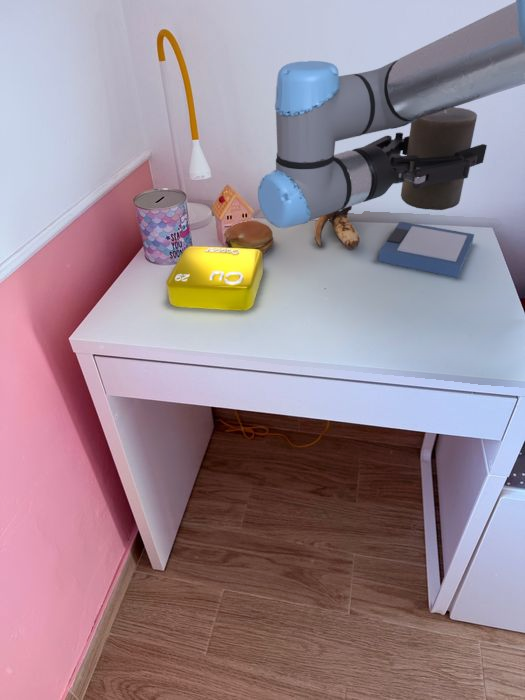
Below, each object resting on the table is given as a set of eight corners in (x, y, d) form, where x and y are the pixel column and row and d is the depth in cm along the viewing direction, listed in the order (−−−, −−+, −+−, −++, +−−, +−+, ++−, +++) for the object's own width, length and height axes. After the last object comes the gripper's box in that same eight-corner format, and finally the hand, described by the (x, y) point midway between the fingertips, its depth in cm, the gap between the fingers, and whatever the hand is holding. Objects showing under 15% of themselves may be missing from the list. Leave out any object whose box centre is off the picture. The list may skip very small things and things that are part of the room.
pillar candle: (439, 215, 83) (458, 116, 74) (388, 199, 89) (400, 105, 79) (470, 198, 88) (492, 102, 79) (420, 184, 94) (435, 93, 84)
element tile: (264, 268, 100) (264, 245, 97) (251, 312, 88) (250, 288, 85) (188, 264, 102) (186, 242, 99) (166, 307, 90) (162, 283, 87)
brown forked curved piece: (306, 221, 117) (321, 257, 102) (306, 201, 114) (321, 235, 99) (347, 217, 117) (368, 252, 103) (348, 196, 114) (369, 230, 100)
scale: (471, 245, 105) (474, 232, 103) (458, 277, 95) (461, 263, 93) (398, 232, 110) (399, 219, 108) (378, 261, 100) (379, 248, 99)
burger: (273, 236, 110) (273, 215, 107) (272, 258, 103) (272, 236, 100) (227, 237, 111) (225, 216, 108) (223, 258, 103) (221, 237, 100)
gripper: (306, 181, 85) (402, 152, 95) (410, 226, 71) (510, 187, 80) (307, 133, 80) (407, 108, 90) (419, 171, 66) (523, 137, 76)
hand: (456, 145), depth 85 cm, fingers closed on pillar candle, 10 cm apart
